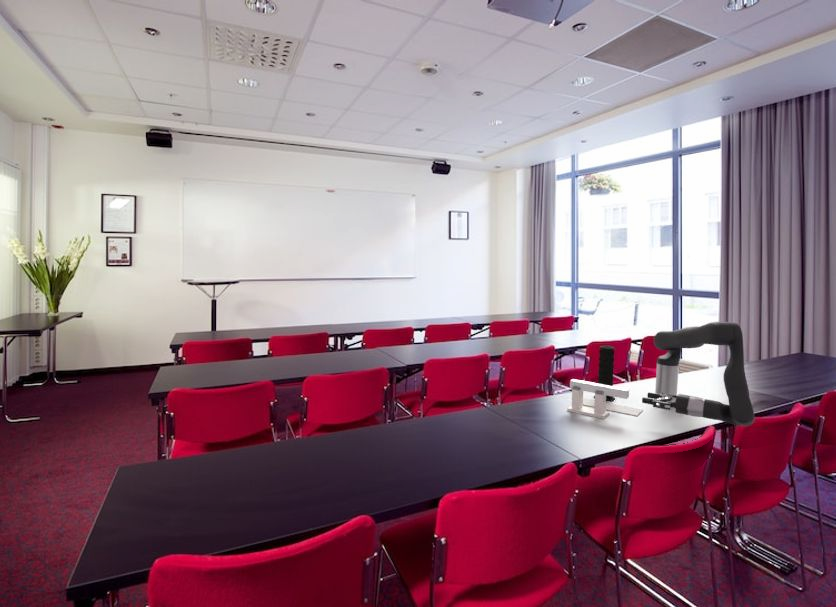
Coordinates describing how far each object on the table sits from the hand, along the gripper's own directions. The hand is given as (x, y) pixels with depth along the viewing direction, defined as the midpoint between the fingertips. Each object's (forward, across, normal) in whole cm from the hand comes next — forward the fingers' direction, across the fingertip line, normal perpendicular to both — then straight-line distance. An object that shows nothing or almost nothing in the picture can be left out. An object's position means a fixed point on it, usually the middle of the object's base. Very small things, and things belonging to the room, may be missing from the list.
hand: (645, 397), depth 185 cm
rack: (+23, 0, +12) cm, 25 cm away
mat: (+19, -14, +12) cm, 26 cm away
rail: (+19, 0, +2) cm, 19 cm away
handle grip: (+24, -26, +12) cm, 37 cm away
